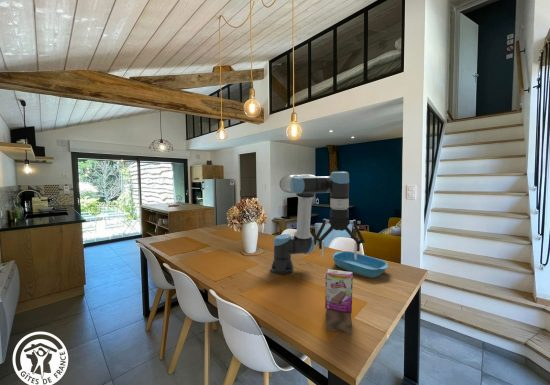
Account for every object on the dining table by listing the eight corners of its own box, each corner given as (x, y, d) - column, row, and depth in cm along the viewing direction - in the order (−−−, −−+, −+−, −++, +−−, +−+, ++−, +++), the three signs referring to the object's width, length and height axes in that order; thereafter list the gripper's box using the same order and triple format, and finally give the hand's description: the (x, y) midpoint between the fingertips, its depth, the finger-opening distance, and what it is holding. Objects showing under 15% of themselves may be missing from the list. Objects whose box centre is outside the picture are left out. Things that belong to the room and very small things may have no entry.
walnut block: (326, 329, 95) (326, 318, 94) (326, 308, 110) (327, 298, 110) (351, 333, 92) (352, 321, 92) (348, 310, 108) (349, 300, 108)
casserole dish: (394, 273, 150) (394, 262, 150) (378, 283, 136) (378, 271, 135) (344, 258, 178) (344, 249, 177) (326, 265, 163) (326, 255, 163)
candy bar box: (325, 309, 101) (325, 272, 99) (326, 303, 105) (326, 268, 104) (352, 314, 97) (352, 276, 96) (352, 307, 102) (352, 271, 100)
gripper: (308, 208, 97) (308, 258, 99) (372, 210, 91) (371, 262, 93) (310, 206, 105) (310, 252, 106) (369, 207, 99) (368, 256, 100)
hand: (338, 257), depth 100 cm, fingers open, 13 cm apart
